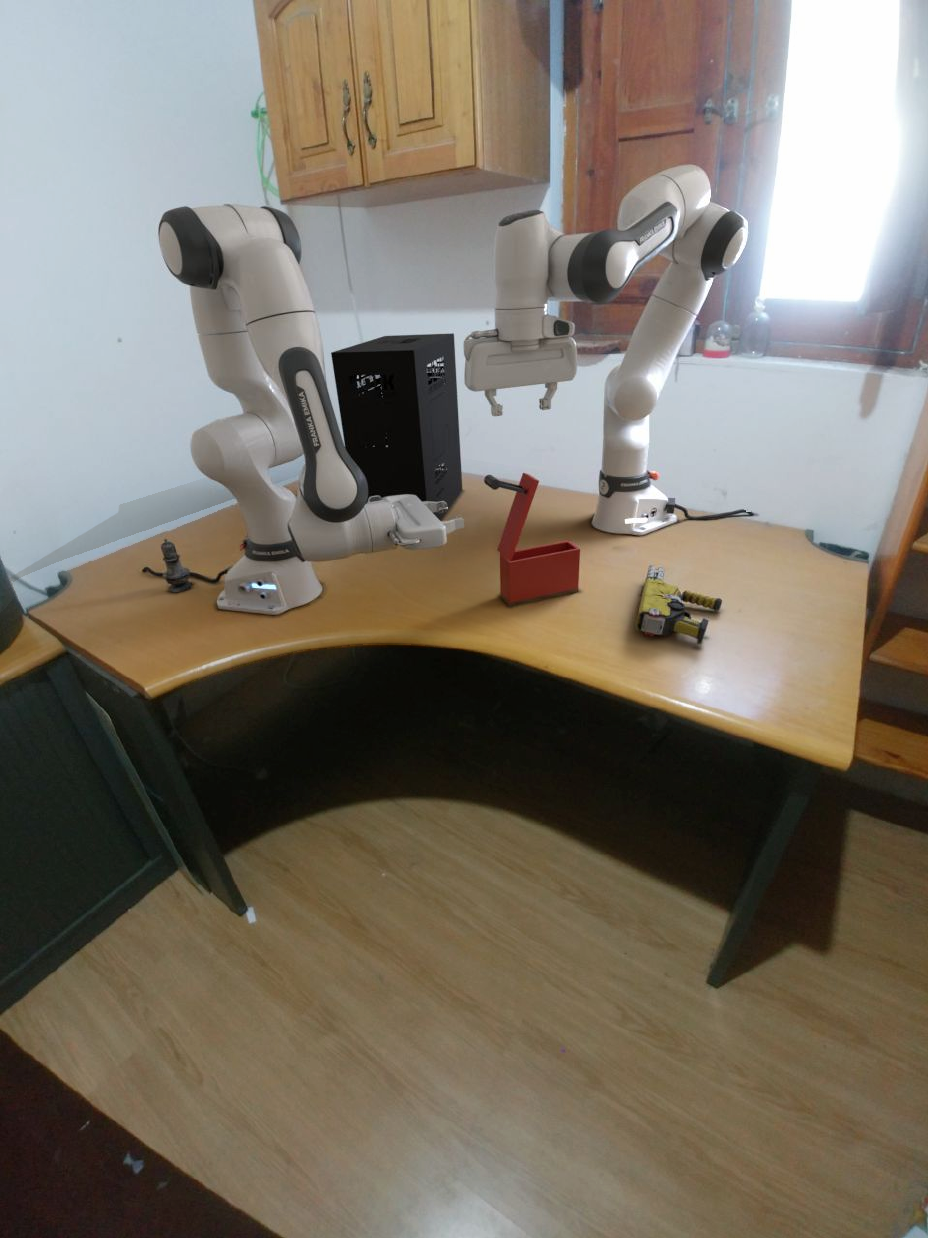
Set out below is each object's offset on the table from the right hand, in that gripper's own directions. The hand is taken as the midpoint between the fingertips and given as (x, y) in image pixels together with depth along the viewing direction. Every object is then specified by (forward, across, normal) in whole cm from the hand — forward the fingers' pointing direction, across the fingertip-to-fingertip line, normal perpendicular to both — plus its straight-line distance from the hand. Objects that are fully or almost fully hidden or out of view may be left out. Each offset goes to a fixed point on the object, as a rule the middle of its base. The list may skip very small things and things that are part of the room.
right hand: (521, 412), depth 108 cm
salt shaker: (+38, -69, +38) cm, 87 cm away
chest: (+38, +4, 0) cm, 38 cm away
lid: (+20, 0, 0) cm, 20 cm away
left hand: (+17, -14, 0) cm, 22 cm away
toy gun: (+38, +25, -19) cm, 49 cm away
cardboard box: (+38, -6, +62) cm, 73 cm away
